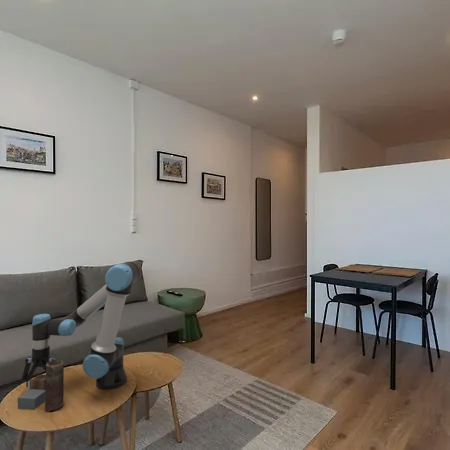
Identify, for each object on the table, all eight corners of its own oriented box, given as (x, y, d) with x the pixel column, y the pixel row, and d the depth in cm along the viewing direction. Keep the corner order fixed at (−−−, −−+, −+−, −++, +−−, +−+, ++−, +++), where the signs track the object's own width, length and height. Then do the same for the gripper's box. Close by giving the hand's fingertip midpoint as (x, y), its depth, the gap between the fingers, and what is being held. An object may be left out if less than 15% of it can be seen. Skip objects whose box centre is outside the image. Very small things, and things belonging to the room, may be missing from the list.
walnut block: (50, 391, 159) (50, 374, 159) (43, 397, 153) (43, 380, 153) (38, 391, 159) (38, 374, 159) (30, 397, 153) (30, 380, 153)
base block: (46, 400, 150) (46, 389, 150) (34, 410, 142) (34, 398, 142) (30, 399, 151) (30, 388, 151) (17, 409, 143) (17, 397, 143)
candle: (51, 402, 148) (51, 358, 148) (67, 402, 148) (67, 359, 148) (41, 412, 141) (41, 365, 141) (57, 412, 140) (58, 366, 141)
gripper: (67, 344, 160) (66, 390, 159) (23, 344, 160) (22, 389, 160) (59, 350, 152) (58, 398, 152) (13, 349, 152) (12, 397, 152)
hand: (40, 393), depth 156 cm, fingers open, 9 cm apart
